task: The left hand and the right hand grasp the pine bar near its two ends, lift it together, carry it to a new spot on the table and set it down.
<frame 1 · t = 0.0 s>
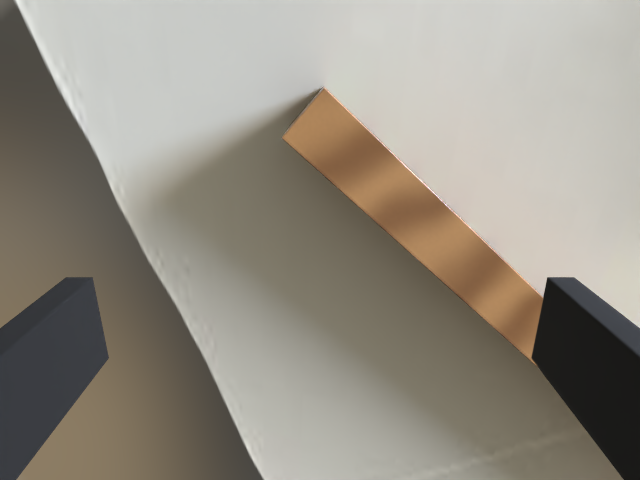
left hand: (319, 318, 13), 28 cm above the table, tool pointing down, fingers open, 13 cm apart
bar: (535, 320, 45), on the table
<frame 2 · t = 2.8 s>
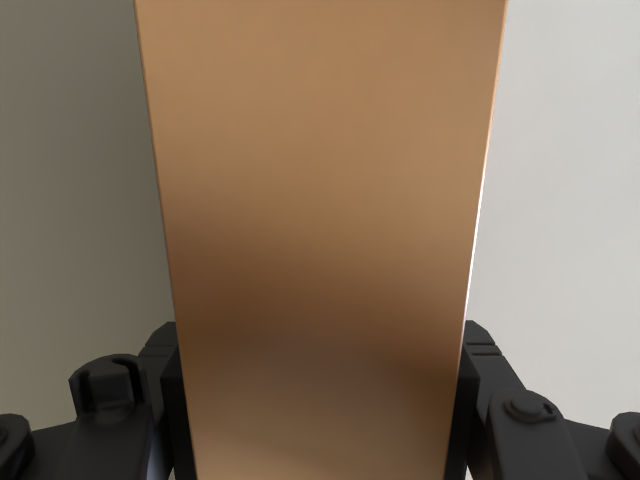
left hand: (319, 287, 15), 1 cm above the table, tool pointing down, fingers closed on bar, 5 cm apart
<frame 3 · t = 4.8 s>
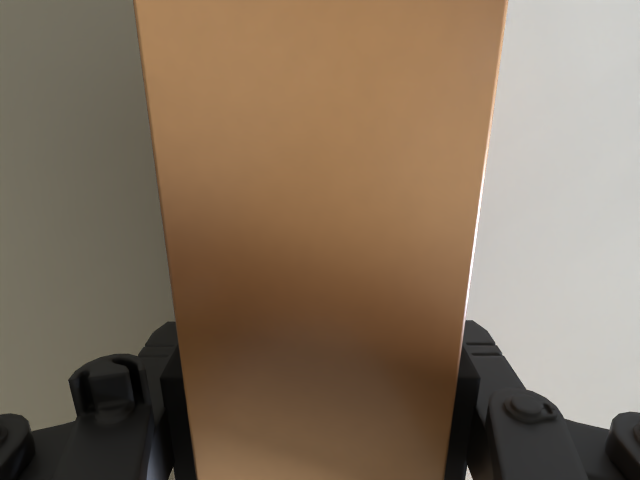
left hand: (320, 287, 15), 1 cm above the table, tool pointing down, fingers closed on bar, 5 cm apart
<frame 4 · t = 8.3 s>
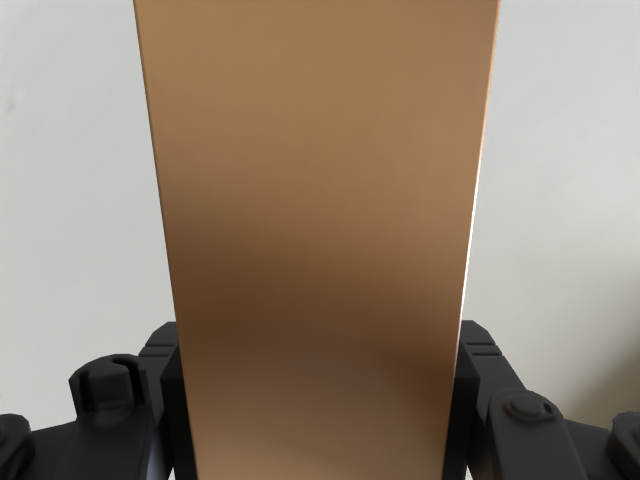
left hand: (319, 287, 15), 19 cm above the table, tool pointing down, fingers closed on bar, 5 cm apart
when the left hand's fingers open (2 cm above the table, at t = 13.8 s): bar drops 1 cm, on the table.
when the right hand's fingers open (5 cm above the table, at t = 14.0 s): bar stays where it is, on the table.
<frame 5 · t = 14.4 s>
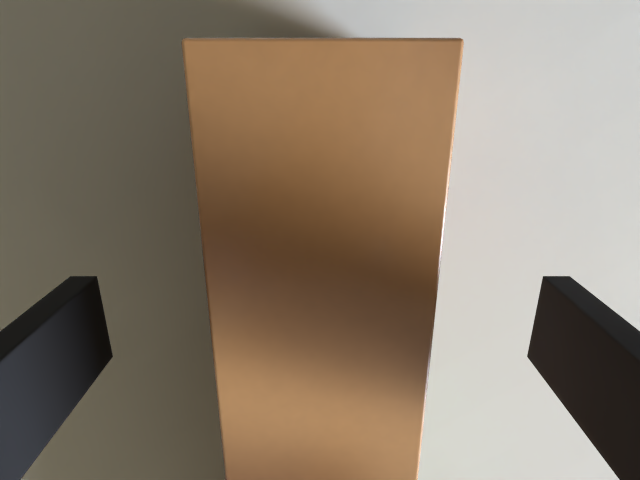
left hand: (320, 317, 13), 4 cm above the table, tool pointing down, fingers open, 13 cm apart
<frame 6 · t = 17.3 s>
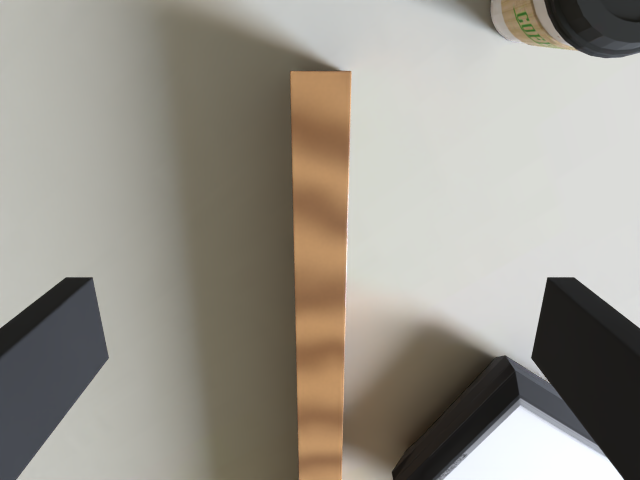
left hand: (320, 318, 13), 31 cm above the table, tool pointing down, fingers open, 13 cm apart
coffee cup: (525, 3, 37), on the table
bar: (320, 365, 50), on the table
electronic device: (535, 455, 55), on the table
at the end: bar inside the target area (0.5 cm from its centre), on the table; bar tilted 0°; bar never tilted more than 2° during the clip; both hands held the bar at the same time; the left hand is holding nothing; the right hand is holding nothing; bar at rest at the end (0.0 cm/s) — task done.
